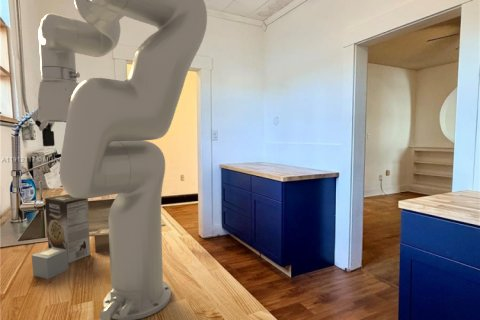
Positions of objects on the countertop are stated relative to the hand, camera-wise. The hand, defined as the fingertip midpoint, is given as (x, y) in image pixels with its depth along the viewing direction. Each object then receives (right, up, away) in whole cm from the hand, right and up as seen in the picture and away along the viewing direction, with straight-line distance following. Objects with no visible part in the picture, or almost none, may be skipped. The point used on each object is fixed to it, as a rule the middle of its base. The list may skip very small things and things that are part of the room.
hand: (63, 145), depth 73 cm
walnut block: (+8, -29, +8) cm, 31 cm away
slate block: (+1, -31, -6) cm, 31 cm away
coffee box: (0, -30, +3) cm, 30 cm away
